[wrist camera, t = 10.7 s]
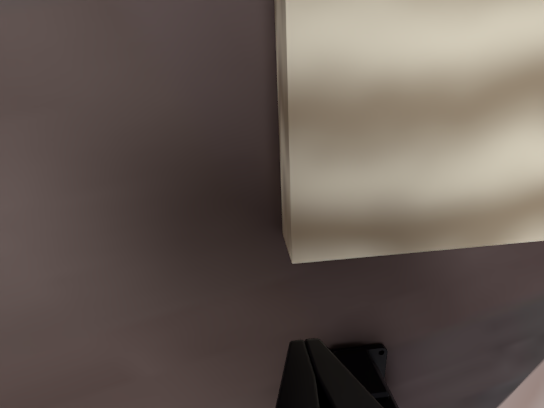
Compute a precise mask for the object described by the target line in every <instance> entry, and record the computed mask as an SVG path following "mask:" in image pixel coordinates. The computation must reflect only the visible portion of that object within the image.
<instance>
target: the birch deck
mask: <svg viewBox="0 0 544 408" xmlns="http://www.w3.org/2000/svg"><path fill="white" fill-rule="evenodd" d="M274 5H275V32H276V60H277V88H278V116H279V143H280V171H281V199H282V226H283V236H284V239H285V242H286V246H287V249H288V252H289V255H290V259H291V262H292V264H296V263H307V262H318V261H328V260H339V259H350V258H361V257H372V256H382V255H393V254H404V253H415V252H426V251H436V250H447V249H458V248H469V247H480V246H490V245H501V244H512V243H523V242H534V241H544V0H274Z"/></svg>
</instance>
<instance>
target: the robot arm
mask: <svg viewBox="0 0 544 408" xmlns="http://www.w3.org/2000/svg"><path fill="white" fill-rule="evenodd" d="M386 359H387V349H386V348H385V346H384V345H382V344H377V345H369V346H360V347H352V348H343V349H334V350H329V349H328V348H327V347H326V346H325V345H324V343H323V342H322V341H321V340H320V339H318V338H313V339H306V340H305V341H304V340H294V341H291V342H290V343H289V348H288V352H287V357H286V361H285V366H284V371H283V375H282V380H281V385H280V389H279V394H278V399H277V403H276V408H399V407H398V405H397V403H396V401H395V399H394V397H393V395H392V393H391V392H390V390H389V388H388V386H387V384H386V382H385V380H384V377H385V368H386Z"/></svg>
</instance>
